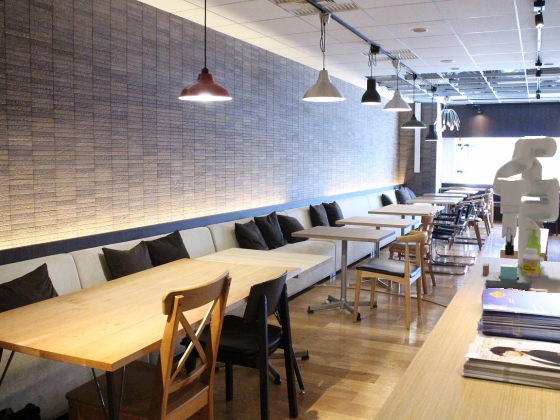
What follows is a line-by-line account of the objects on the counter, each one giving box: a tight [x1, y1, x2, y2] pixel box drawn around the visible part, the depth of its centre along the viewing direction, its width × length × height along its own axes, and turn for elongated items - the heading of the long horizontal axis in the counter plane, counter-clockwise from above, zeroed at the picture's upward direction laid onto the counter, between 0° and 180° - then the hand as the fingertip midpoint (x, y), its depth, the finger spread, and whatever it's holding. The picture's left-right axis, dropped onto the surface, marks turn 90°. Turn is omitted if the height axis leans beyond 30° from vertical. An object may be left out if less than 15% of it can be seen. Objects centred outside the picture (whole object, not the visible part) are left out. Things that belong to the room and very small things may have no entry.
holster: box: [480, 263, 501, 277], centre depth 236 cm, size 10×12×5 cm
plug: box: [500, 264, 518, 280], centre depth 220 cm, size 4×6×8 cm, turn 64°
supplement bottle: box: [521, 248, 541, 279], centre depth 231 cm, size 7×7×13 cm
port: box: [485, 273, 532, 291], centre depth 220 cm, size 14×16×3 cm
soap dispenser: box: [524, 229, 542, 274], centre depth 240 cm, size 6×7×20 cm
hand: (509, 255), depth 219 cm, fingers closed
